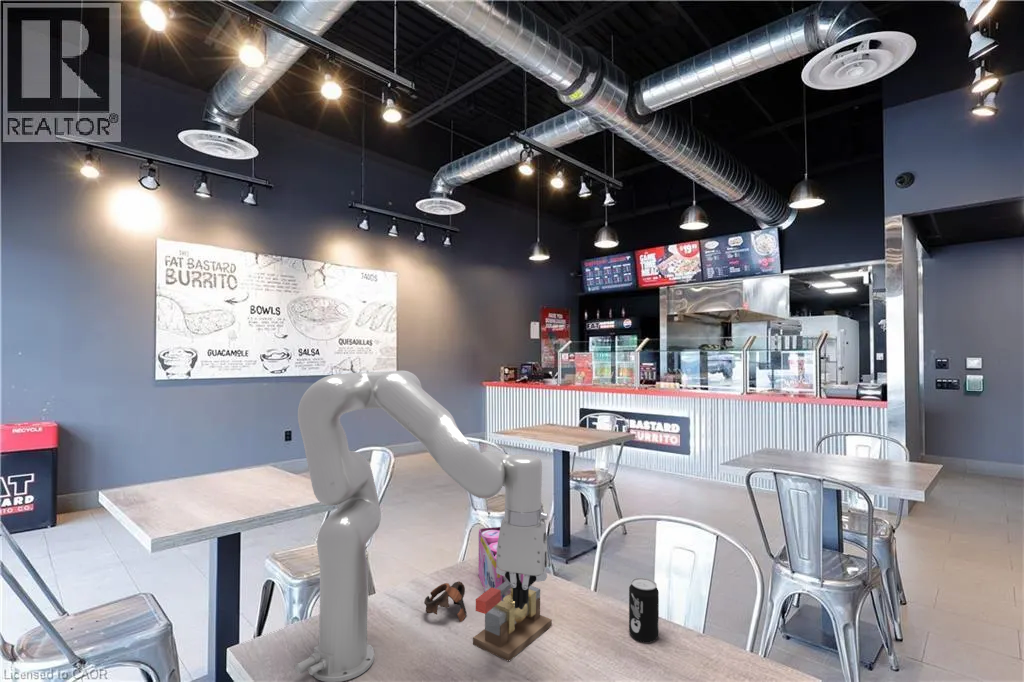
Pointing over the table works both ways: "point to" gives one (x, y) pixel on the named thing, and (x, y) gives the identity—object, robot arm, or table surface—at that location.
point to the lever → (492, 597)
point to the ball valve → (510, 612)
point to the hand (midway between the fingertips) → (520, 605)
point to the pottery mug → (453, 592)
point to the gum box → (490, 560)
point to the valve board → (513, 636)
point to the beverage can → (643, 610)
